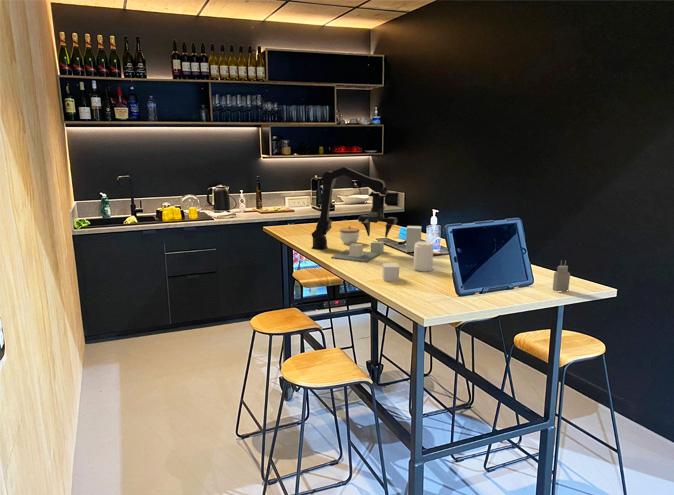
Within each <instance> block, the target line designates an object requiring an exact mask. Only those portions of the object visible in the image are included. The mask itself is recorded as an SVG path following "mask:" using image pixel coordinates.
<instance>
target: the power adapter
mask: <svg viewBox="0 0 674 495" xmlns="http://www.w3.org/2000/svg"><path fill="white" fill-rule="evenodd" d="M562 262H563V260H562V259H561V260H560V265H558V266H557V271H554V273H553V283H552V290H554V291H567V290H568V291H569V288H570V278H571V273H570V272H569V271H568V269H569V266H568V265H566V264H567V260H564V265H562ZM554 291H553V292H554Z"/></svg>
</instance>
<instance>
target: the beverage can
mask: <svg viewBox="0 0 674 495" xmlns="http://www.w3.org/2000/svg"><path fill="white" fill-rule="evenodd" d="M433 262H434V244H433V242H431V241H425V240H421V241H418V242H416V244H415V246H414V253H413V269H414V270H416V271H417V272H429V271H432V270H433Z"/></svg>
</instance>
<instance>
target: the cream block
mask: <svg viewBox="0 0 674 495" xmlns="http://www.w3.org/2000/svg"><path fill="white" fill-rule="evenodd" d="M348 245H349V247H348V248H349V249H348V250H349V255H350V256H361V255H362V254H363V251H364V245H363V243H357V242H355V243H353V244H348Z"/></svg>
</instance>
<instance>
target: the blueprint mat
mask: <svg viewBox="0 0 674 495" xmlns="http://www.w3.org/2000/svg"><path fill="white" fill-rule="evenodd" d="M380 255H381V253H375V252H371V251H364V250H363V254H362V255H361V256H350V255H349V249H345V250H343V251H341V252H338V253H337V254H335V255H332V256H331V257H330V258H331V259H333V258H335V260H343V261H351V262H359V263H368V262H370V261H371V260H373V259H375V258H376V257H378V256H380Z"/></svg>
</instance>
